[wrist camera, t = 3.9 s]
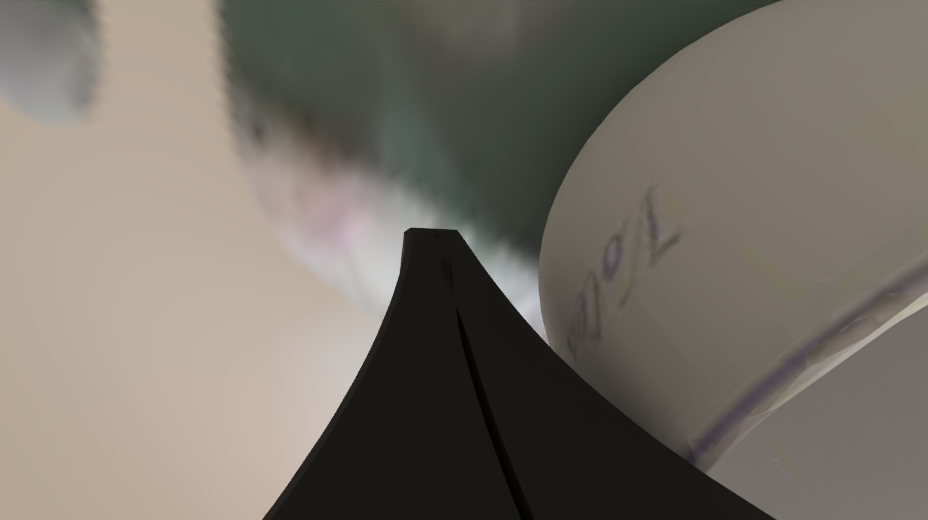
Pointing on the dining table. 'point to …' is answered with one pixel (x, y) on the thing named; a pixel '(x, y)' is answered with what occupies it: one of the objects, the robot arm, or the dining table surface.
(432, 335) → the robot arm
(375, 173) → the dining table surface
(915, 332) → the teacup
